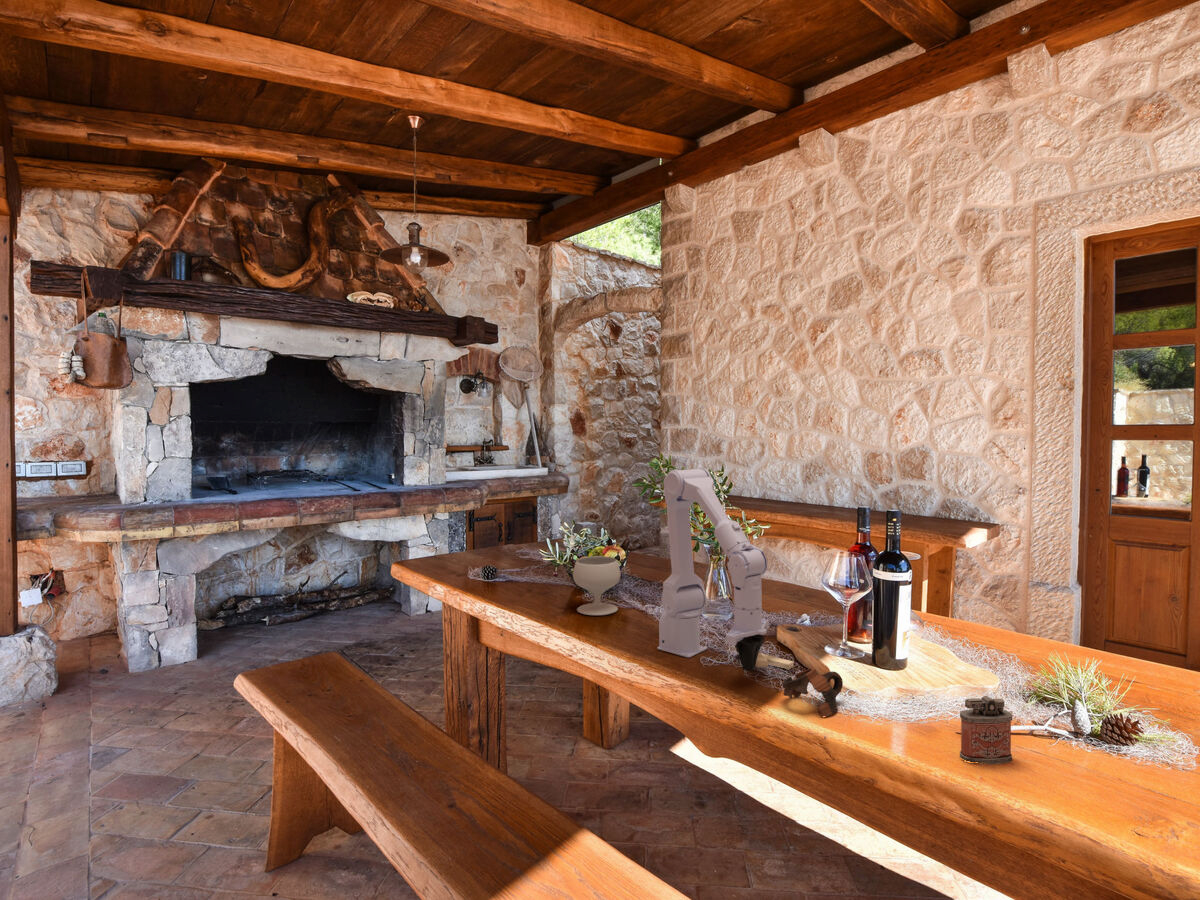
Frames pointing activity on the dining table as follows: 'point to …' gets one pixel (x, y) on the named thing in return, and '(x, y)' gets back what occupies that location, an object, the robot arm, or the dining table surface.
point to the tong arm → (761, 661)
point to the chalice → (596, 581)
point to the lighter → (986, 731)
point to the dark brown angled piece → (816, 688)
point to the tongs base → (778, 661)
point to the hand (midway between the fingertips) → (748, 669)
